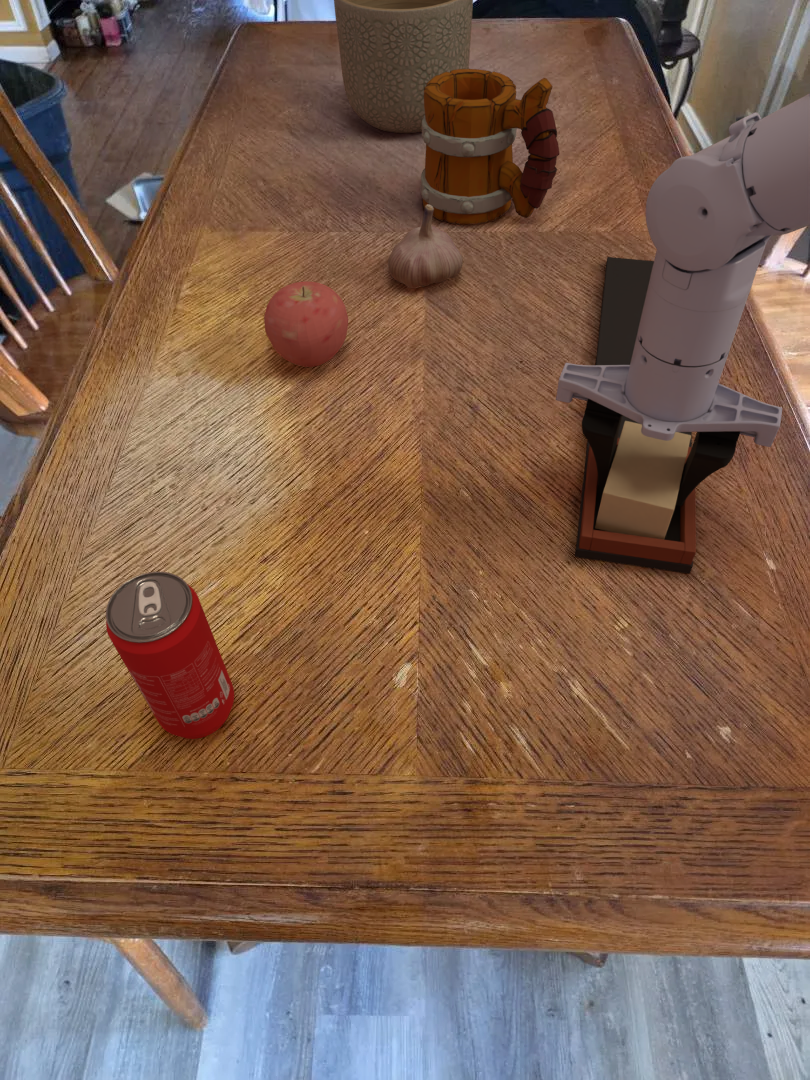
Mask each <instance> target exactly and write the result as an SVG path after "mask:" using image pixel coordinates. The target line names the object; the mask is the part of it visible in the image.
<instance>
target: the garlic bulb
mask: <svg viewBox="0 0 810 1080" xmlns="http://www.w3.org/2000/svg"><path fill="white" fill-rule="evenodd" d="M433 211H434V208H433V206H431V205H430V204H427V205H426V206H425V209H424V211H423V217H422V222H421V225H420V226H418V227H414V228H412V229H410V230H409V231H408V232H407V233H406V234H405V235H404V237H402V239H401V240H400V241H399V242H397V244H395V245H394V247H393V248H392V250H391V253H390V255H389V257H388V261H387V267H388V271H389V273H390V275H391V277H392V278H393V279H394V280H395V282H398V283H400V284H403V285H405V286H406V287H407V288H410V289H417V288H420V287H421V288H424V287H427V286H429V285H432V284H434V283H437V284H438V283H442V282H444V281H446V280H448V279H453V278H455V277H457V276H458V274H460V272H461V270H462V269H463V265H464V263H463V261H464V260H463V255H462V252H461V251H460V250H459V249H458V247H457V245H456V244H455V242H454V240H453V238H452V237H451V236H450V235H449V233H448V232H446V231H445V230H443V229H441V228H439V227H437V226H434V225H433V217H434V216H433Z"/></svg>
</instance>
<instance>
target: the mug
mask: <svg viewBox="0 0 810 1080" xmlns="http://www.w3.org/2000/svg"><path fill="white" fill-rule="evenodd" d="M552 91H553V84H552V83H551V82H550V81H549V79H548V78H546V77H543V78H541V79H540V80H538V81H536V83H534V84H533V85H531V86H530V87H529V88H528V89H527V90H526V91H525V92H524V93H523V95H522V97H521V99H517V85H516V84H515V83H514V81H513V80H512V79H511V77H508V76H507V75H505V74H503V73H500V72H497V71H490V70H487V69H486V70H485V69H477V68H469V69H457V70H452V71H450V72H444V73H442V74H440V75H436V76H435V77H433V78H432V79H431V80H430V81H429V82H428V83H427V85H426V87H424V110H425V115H424V117H423V120H422V131H421V137H422V140H423V143H424V144H425V159H424V168H423V170H422V171H421V173H420V189H419V190H420V195H421V197H422V206H423V209H424V210H425V206H426V205H427V204H430V205H431V206H433V208H434V211H433V216H432V217H434V218H435V219H436V220H439V221H441V222H444V221H446V222H447V223H449V224H457V225H458V224H459V225H460V226H466V225H477V224H486V223H488V222H494V221H495V220H496V219H499V218H501V217H502V216H503V215H505V214H506V213H507V212H508V211H509V210H510V208H511V206H512V202H513V206H514V210H515V213H516V214H517V216H519V217H520V218H524V219H528V218H529V217H531V216H532V214H533V212H534V210H535V209H536V210H537V209H540V207H541V206H542V203H543V201H544V199H545V197H546V196H547V192H548V190H550V189H552V187H553V180H554V178H555V176H556V174H557V171H558V168H557V167H556V165H557V160H558V159H557V158H558V157H559V156H560V146H559V141H558V139H557V137H558V130H557V125H556V120H555V116H554V113H553V111H552V110H551V109H550V108H549V107H547V105H548V103H549V100H550V97H551V94H552ZM517 130H521V131H520V135H521V138H522V139H523V142H524V144H525V149H526V150H528V151H527V152H528V156H527V160H526V161H525V162H524V167H523V170H521V168H520V167H519V165H518V164H516V163H514V159H513V143H514V142H515V141H516V139H517Z"/></svg>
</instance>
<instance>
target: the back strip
mask: <svg viewBox="0 0 810 1080" xmlns="http://www.w3.org/2000/svg"><path fill="white" fill-rule="evenodd" d="M605 262H606V263H605V269H604V270H605V271H604V278H603V287H602V288H603V289H602V296H601V297H602V298H601V307H600V317H599V325H598V326H599V327H598V336H597V344H596V353H595V354H596V355H595V365H630V363H631V359H632V355H633V351H634V346H635V342H636V337H637V333H638V329H639V324H640V320H641V316H642V311H643V307H644V303H645V298H646V294H647V290H648V285H649V281H650V277H651V272H652V268H653V264H654V260H645V259H636V258H635V259H634V258H633V259H632V258H624V257H623V258H622V257H614V256H613V257H612V256H607V257H606V261H605ZM625 421H629V422H633V423H638V422H636V421H634V420H632V419H630V418H628V417H626V416H623V417H622V421H621V425H620V429H619V433H618V440H617V445H618V442H619V439H620V436H621V432H622V429H623V426H624V423H625ZM638 424H640V423H638ZM679 433H683V434H688V435H691V439H690V443H689V448H688V452H687V456H686V460H687V458H688V456H689V454H690V451H691V449H692V446H693V435H692V434H693V432H679ZM616 449H617V447H616ZM685 463H686V461H685ZM604 488H605V487H601V486H598V472H597V465H596V461H595V457H594V454H593V451H592V449H591V446H590V444H589V442H588V440H587V439H586V448H585V458H584V467H583V476H582V484H581V495H580V505H579V513H578V514H579V515H578V516H579V517H578V521H577V522H578V523H577V532H576V533H577V534H576V543H575V551H574V552H575V553H574V557H575V558H578V559H579V558H580V559H585V560H586V559H587V560H593V561H600V562H607V563H614V564H620V565H627V566H635V567H641V568H647V569H653V570H661V571H668V572H674V573H681V574H691V572H692V569H693V566H694V558H695V557H696V554H697V525H696V523H697V517H696V513H697V512H696V511H697V510H696V509H697V508H696V488H695V489H694V490H693V491H692V492H691V493H690V494H689V496H688V497H687V498H686V500H685V501H684V503H683V505H682V506H679V505H675V509H674V512H673V515H672V518H671V521H670V524H669V527H668V530H667V532H666V535H665V538H664V540H663V539H656V538H649V537H642V536H635V535H628V534H621V533H614V532H607V531H604V530H600V529H596V528H595V525H596V520H597V516H598V512H599V508H600V503H601V499H602V495H603V491H604Z"/></svg>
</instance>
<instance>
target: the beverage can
mask: <svg viewBox="0 0 810 1080" xmlns="http://www.w3.org/2000/svg"><path fill="white" fill-rule="evenodd" d="M105 628H106V633H107V635H108V637H109V640H110V641H111V643H112V645H113V647H114V648H115V650H116V652H117V653H118V656H119V657H120V659H121V660H122V662H123V663H124V666H125V667H126V669H127V671H128V672H129V674H130V676H131V677H132V680H133V681H134V682H135V685H136V687H137V688H138V690H139V692H140V693H141V695H142V697H143V698H144V700H145V702H146V704H147V706H148V707H149V709H150V711H151V712H152V713H151V714H153V716H154V718H155V720H156V721H157V722H158V725H159V726H160V727H161V728H162V729H163V730H164V731H166V732H167V733H169V734H171V735H172V736H176V737H179V738H182V739H185V740H199V739H200V740H201V739H204V738H207V737H209V736H211V735H213V734H215V733H216V732H217V731H219V730H220V729H221V728H222V727H223V726H224V725H225V724H226V722H227V721H228V719H229V717H230V714H231V711H232V709H233V705H234V702H235V689H234V685H233V682H232V680H231V677H230V675H229V672H228V670H227V667H226V664H225V662H224V659H223V657H222V655H221V652H220V649H219V646H218V644H217V641H216V639H215V636H214V634H213V632H212V629H211V626H210V624H209V621H208V619H207V616H206V614H205V611H204V608H203V606H202V603H201V601H200V597H199V596H198V594H197V592H196V591H195V589H194V588H193V587H192V586H191V585H190V584H189V583H187V582H186V581H185V579H183V578H182V577H181V576H179V575H177V574H174V573H172V572H167V571H149V572H145V573H144V572H143V573H141V574H138V575H136V576H133V577H131V578H130V579H128V580H126V581H125V582H124V583H122V584H121V585H119V587H118V588H116V590H114V591H113V593H112V594H111V596H110V597H109V600H108V602H107V604H106V609H105Z"/></svg>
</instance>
